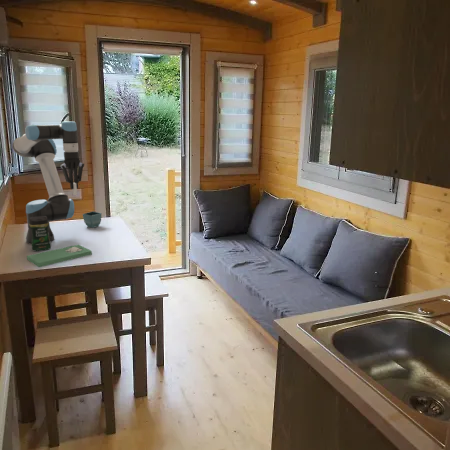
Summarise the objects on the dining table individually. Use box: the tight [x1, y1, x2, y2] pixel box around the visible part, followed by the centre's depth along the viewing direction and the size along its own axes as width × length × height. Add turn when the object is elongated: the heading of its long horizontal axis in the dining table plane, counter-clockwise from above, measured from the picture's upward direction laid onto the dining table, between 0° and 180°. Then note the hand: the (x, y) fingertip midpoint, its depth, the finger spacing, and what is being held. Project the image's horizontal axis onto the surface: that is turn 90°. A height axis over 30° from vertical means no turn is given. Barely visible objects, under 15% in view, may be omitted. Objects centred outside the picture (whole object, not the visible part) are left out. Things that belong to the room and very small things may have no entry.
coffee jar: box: [29, 216, 51, 252], centre depth 232 cm, size 10×8×19 cm
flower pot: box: [82, 211, 102, 229], centre depth 279 cm, size 9×9×9 cm
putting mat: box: [26, 244, 93, 268], centre depth 223 cm, size 15×28×2 cm, turn 134°
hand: (74, 194), depth 233 cm, fingers closed
